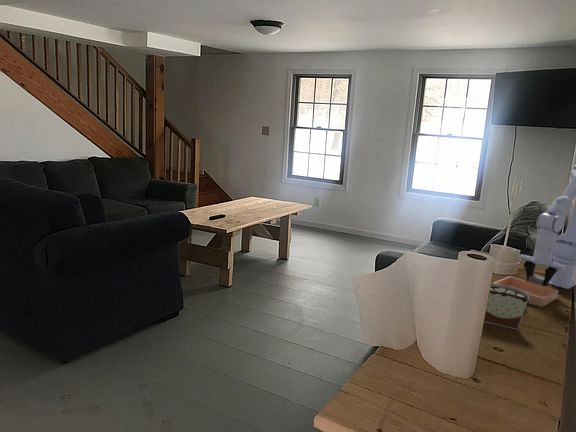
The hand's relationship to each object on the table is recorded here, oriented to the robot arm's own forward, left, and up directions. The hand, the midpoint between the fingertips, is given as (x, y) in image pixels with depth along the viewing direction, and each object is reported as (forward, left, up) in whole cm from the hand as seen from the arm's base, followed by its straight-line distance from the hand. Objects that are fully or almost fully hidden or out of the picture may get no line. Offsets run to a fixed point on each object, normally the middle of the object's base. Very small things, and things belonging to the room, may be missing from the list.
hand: (536, 285), depth 165 cm
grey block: (0, 0, -2) cm, 2 cm away
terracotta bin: (+11, 0, -1) cm, 11 cm away
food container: (+42, +5, -2) cm, 42 cm away
